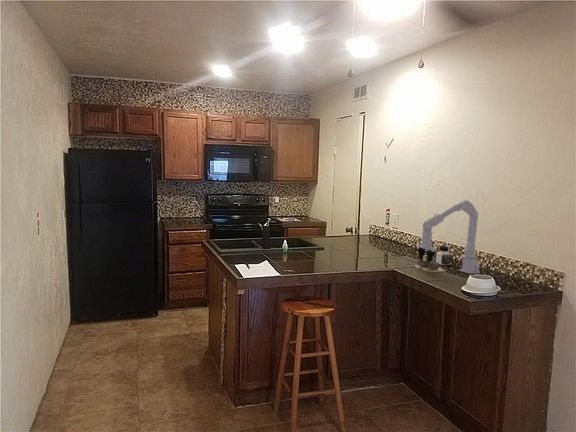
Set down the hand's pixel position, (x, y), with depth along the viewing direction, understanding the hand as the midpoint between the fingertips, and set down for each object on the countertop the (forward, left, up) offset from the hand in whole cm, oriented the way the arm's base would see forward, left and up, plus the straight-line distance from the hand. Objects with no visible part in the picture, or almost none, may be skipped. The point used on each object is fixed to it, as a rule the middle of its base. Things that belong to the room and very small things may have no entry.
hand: (425, 260), depth 281 cm
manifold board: (-4, 0, -4) cm, 6 cm away
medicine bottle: (+7, -20, -5) cm, 22 cm away
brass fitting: (0, 0, -3) cm, 3 cm away
